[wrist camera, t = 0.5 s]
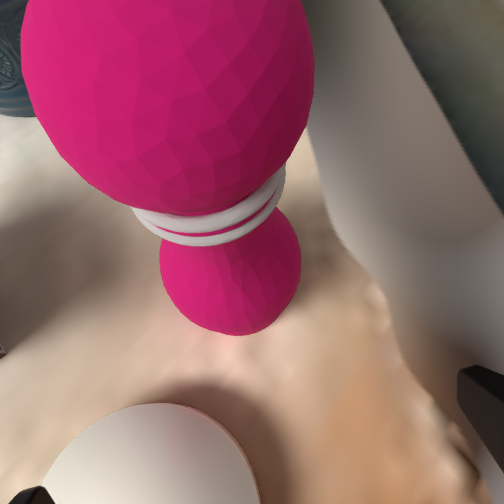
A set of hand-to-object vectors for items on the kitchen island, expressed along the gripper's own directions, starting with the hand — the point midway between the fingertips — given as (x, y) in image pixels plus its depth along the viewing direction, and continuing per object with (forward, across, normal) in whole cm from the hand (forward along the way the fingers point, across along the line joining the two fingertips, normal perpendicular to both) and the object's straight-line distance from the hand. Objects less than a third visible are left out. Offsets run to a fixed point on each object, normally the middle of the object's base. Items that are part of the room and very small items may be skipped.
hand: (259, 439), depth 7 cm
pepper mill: (+15, 0, +4) cm, 15 cm away
